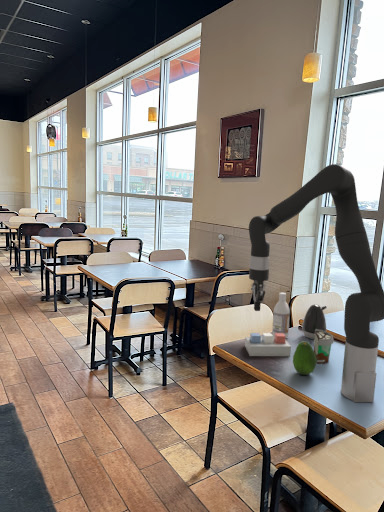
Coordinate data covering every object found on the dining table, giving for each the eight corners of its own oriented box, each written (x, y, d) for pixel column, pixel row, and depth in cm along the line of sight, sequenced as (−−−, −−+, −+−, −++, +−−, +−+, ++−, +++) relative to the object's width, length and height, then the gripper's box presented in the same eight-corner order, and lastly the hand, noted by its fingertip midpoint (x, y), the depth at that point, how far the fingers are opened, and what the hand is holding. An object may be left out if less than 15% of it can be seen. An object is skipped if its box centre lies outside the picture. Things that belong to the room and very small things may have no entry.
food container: (334, 367, 136) (336, 341, 134) (317, 365, 137) (319, 339, 136) (329, 354, 148) (331, 330, 146) (313, 352, 149) (315, 328, 148)
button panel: (290, 356, 145) (291, 346, 144) (249, 356, 144) (250, 346, 143) (282, 346, 155) (283, 337, 154) (244, 345, 154) (245, 336, 153)
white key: (272, 346, 147) (273, 336, 147) (264, 346, 147) (264, 336, 146) (270, 343, 151) (271, 333, 150) (262, 343, 150) (262, 333, 150)
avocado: (287, 372, 131) (289, 340, 129) (302, 367, 135) (304, 335, 134) (305, 381, 125) (308, 347, 123) (320, 376, 129) (323, 343, 127)
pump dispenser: (330, 341, 162) (333, 307, 159) (309, 342, 159) (311, 308, 157) (317, 332, 172) (320, 301, 169) (297, 334, 169) (299, 302, 167)
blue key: (260, 346, 147) (260, 336, 146) (251, 346, 147) (252, 336, 146) (258, 343, 150) (258, 333, 150) (250, 343, 150) (250, 332, 150)
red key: (284, 346, 148) (285, 336, 147) (276, 346, 147) (277, 336, 147) (282, 343, 151) (283, 333, 150) (274, 343, 151) (274, 333, 150)
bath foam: (286, 340, 161) (289, 295, 158) (270, 337, 164) (273, 293, 161) (289, 335, 167) (292, 292, 164) (273, 332, 170) (276, 290, 167)
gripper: (273, 270, 137) (270, 315, 140) (264, 264, 151) (262, 305, 153) (253, 270, 137) (251, 315, 140) (246, 264, 150) (244, 305, 153)
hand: (256, 310), depth 146 cm, fingers closed
